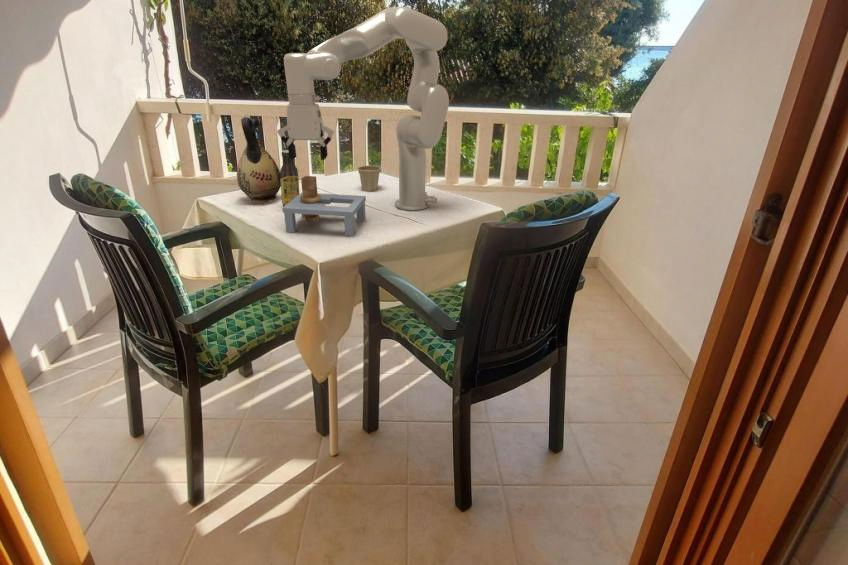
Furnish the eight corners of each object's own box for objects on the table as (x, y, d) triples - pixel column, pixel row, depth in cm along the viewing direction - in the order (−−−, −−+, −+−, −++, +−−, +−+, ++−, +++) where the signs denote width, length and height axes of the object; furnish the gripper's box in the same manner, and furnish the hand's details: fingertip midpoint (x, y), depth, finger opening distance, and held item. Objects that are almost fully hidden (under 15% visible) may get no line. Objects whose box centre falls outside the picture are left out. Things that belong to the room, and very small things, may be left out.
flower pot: (358, 186, 202) (357, 165, 199) (381, 186, 203) (380, 165, 200) (358, 192, 194) (357, 171, 190) (381, 192, 195) (381, 170, 191)
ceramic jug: (246, 193, 190) (234, 112, 177) (286, 193, 191) (278, 113, 178) (234, 207, 175) (220, 119, 161) (278, 207, 176) (268, 120, 163)
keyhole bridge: (303, 215, 169) (301, 192, 165) (366, 219, 166) (365, 196, 163) (285, 232, 154) (282, 207, 150) (353, 237, 151) (352, 212, 148)
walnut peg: (324, 216, 162) (321, 175, 156) (318, 222, 156) (315, 180, 150) (306, 215, 163) (302, 174, 157) (299, 221, 157) (295, 179, 151)
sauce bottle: (284, 211, 172) (278, 153, 163) (280, 206, 177) (274, 150, 168) (303, 208, 175) (298, 152, 166) (298, 203, 180) (293, 148, 171)
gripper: (334, 98, 146) (339, 156, 154) (278, 97, 148) (286, 155, 156) (326, 101, 139) (332, 162, 147) (268, 101, 141) (277, 160, 149)
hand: (308, 158), depth 151 cm, fingers open, 9 cm apart
